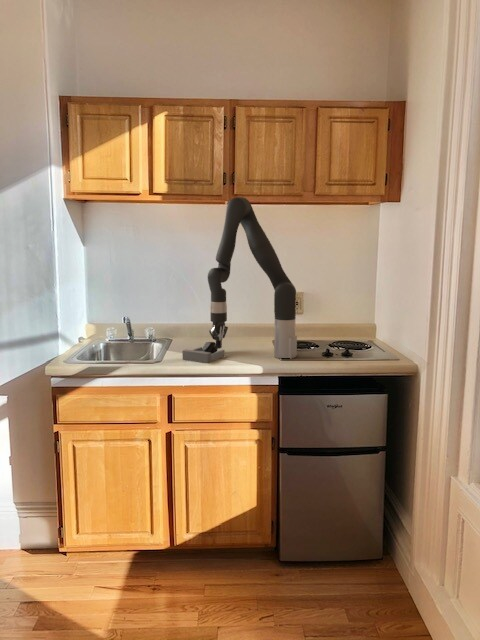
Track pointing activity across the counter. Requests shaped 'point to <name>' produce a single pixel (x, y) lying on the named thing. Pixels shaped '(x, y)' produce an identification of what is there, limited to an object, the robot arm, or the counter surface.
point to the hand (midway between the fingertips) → (218, 348)
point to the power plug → (210, 347)
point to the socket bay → (202, 355)
